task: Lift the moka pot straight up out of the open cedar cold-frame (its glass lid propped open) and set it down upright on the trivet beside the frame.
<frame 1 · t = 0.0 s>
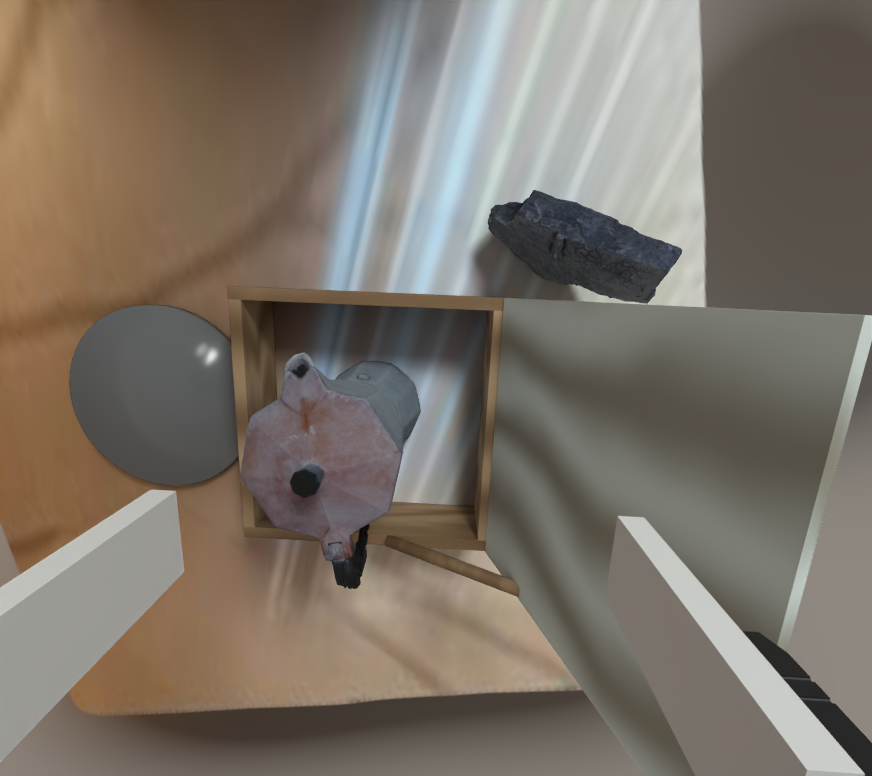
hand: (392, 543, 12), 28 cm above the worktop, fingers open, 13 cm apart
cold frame: (378, 407, 41), on the worktop
moka pot: (378, 407, 41), resting in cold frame
stone: (558, 254, 37), on the worktop
trivet: (167, 397, 41), on the worktop
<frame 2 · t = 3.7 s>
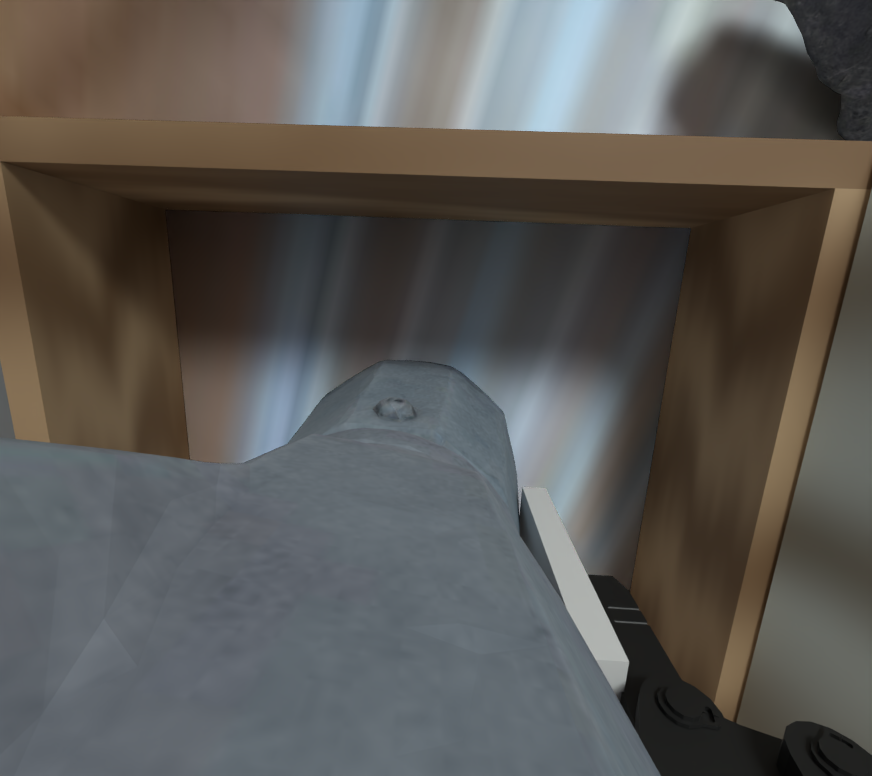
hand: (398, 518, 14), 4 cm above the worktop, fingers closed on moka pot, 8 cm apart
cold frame: (415, 464, 18), on the worktop
moka pot: (417, 463, 18), resting in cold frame, touching gripper
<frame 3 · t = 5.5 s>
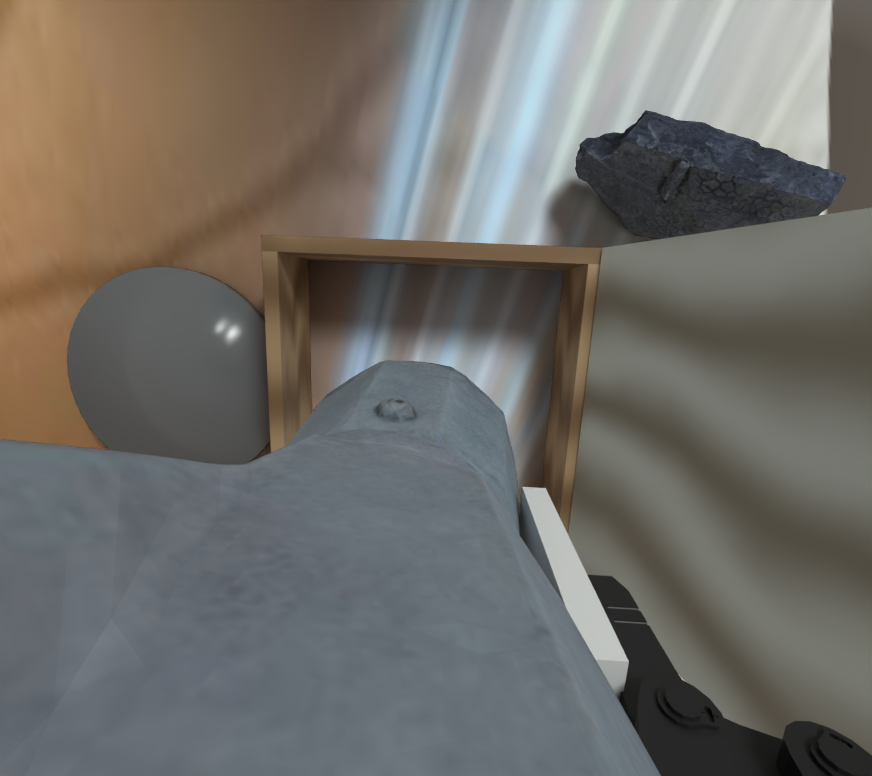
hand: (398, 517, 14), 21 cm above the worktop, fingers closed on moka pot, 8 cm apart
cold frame: (430, 389, 35), on the worktop
moka pot: (417, 463, 18), point 17 cm above the worktop, touching gripper
stone: (650, 204, 31), on the worktop
trivet: (182, 378, 35), on the worktop
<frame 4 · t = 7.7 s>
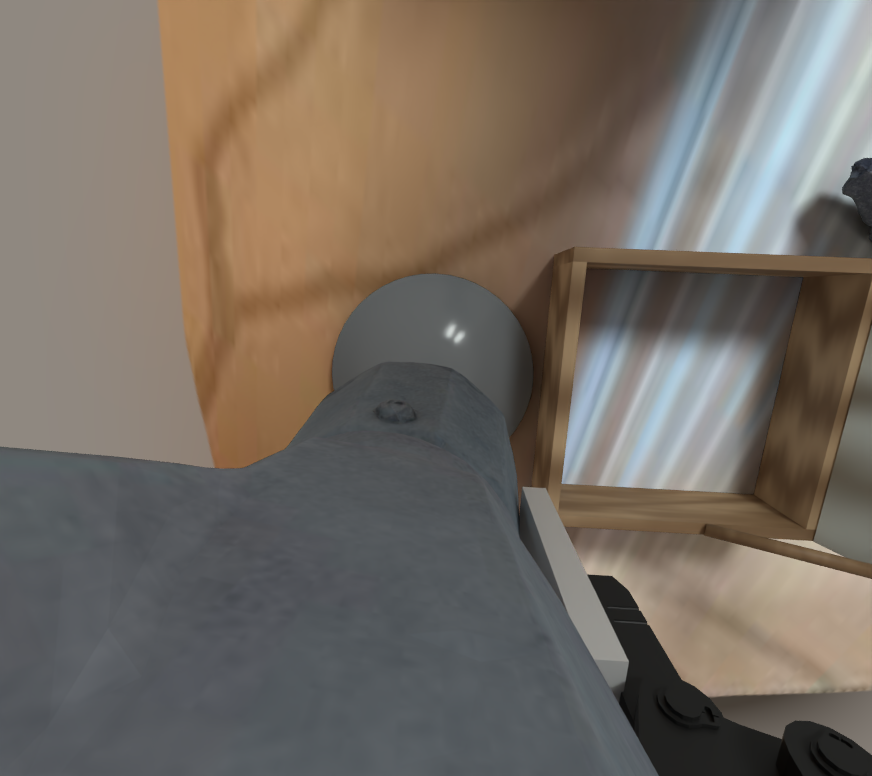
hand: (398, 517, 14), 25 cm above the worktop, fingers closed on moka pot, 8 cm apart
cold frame: (664, 386, 38), on the worktop
moka pot: (417, 464, 18), point 20 cm above the worktop, touching gripper
trivet: (432, 375, 38), on the worktop
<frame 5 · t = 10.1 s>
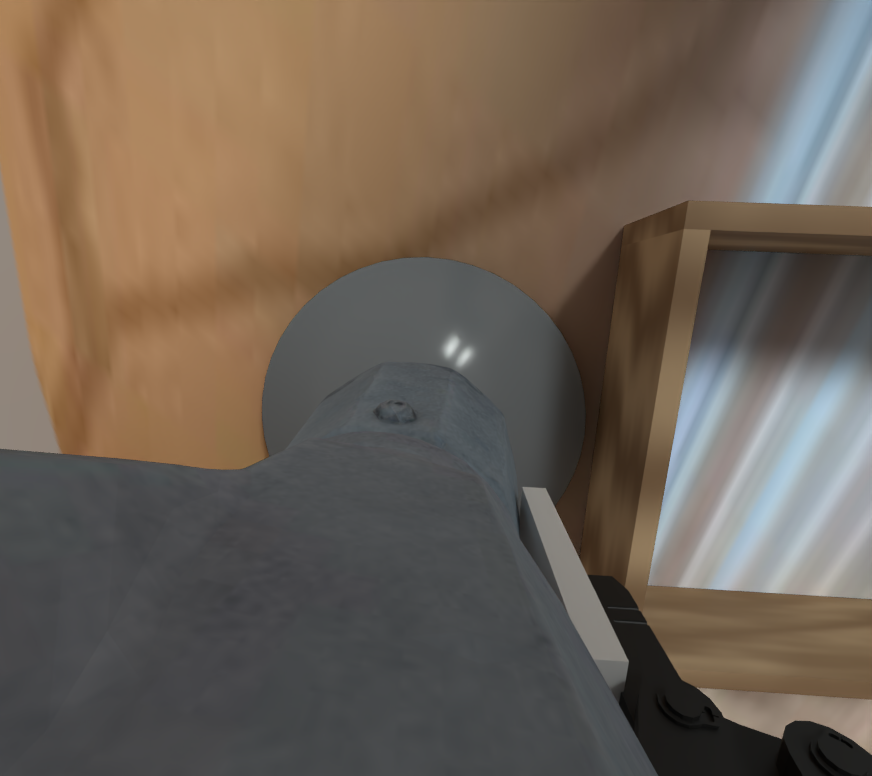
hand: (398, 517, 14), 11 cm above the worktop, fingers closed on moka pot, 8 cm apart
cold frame: (793, 439, 23), on the worktop
moka pot: (417, 464, 18), point 6 cm above the worktop, touching gripper
trivet: (422, 420, 24), on the worktop
when the fingers open (6 cm above the worktop, at t = 12.0 s): moka pot moves 2 cm, resting on trivet.
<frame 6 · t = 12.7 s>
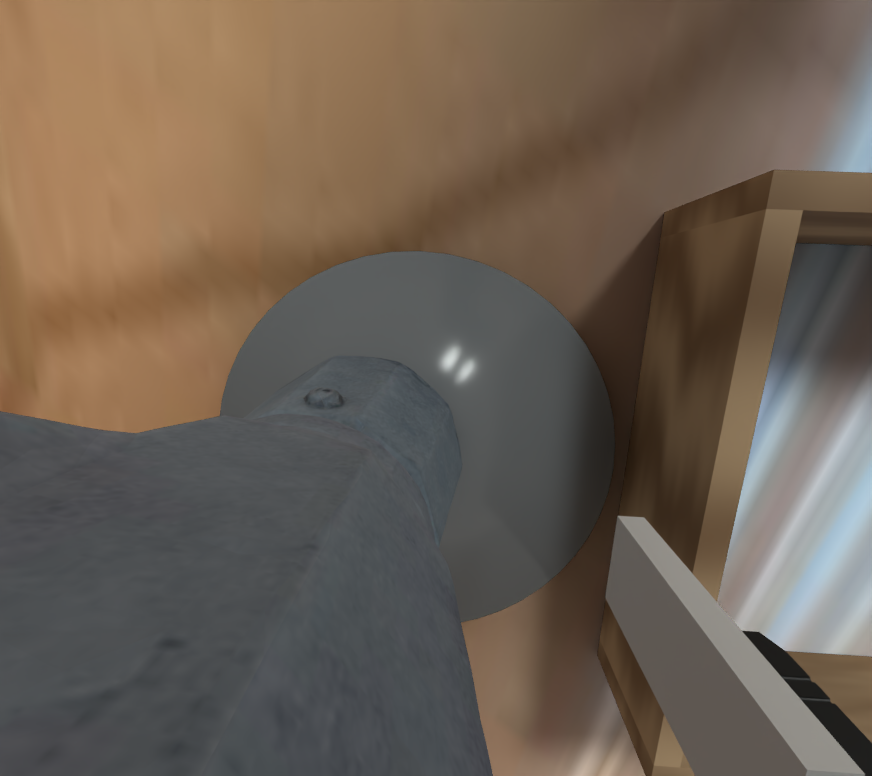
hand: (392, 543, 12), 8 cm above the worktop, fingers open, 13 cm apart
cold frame: (866, 473, 19), on the worktop
moka pot: (370, 454, 19), point 1 cm above the worktop, touching gripper, trivet
trivet: (415, 450, 20), on the worktop
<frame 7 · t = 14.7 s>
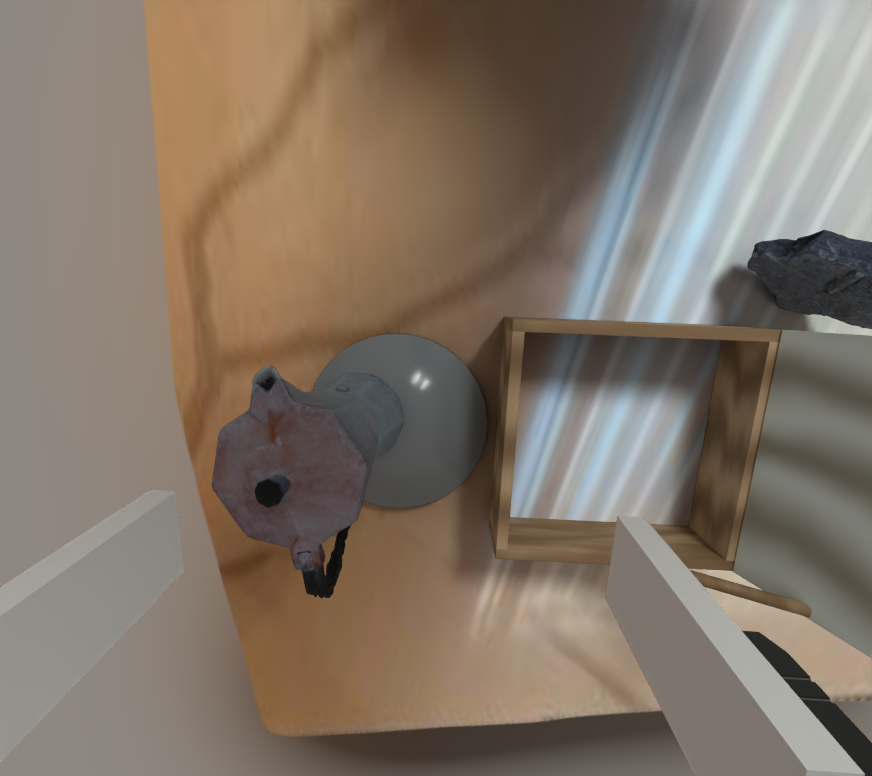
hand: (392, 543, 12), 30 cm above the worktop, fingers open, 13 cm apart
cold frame: (604, 431, 42), on the worktop
moka pot: (363, 417, 41), point 1 cm above the worktop, touching trivet
stone: (795, 284, 39), on the worktop
trivet: (398, 421, 42), on the worktop
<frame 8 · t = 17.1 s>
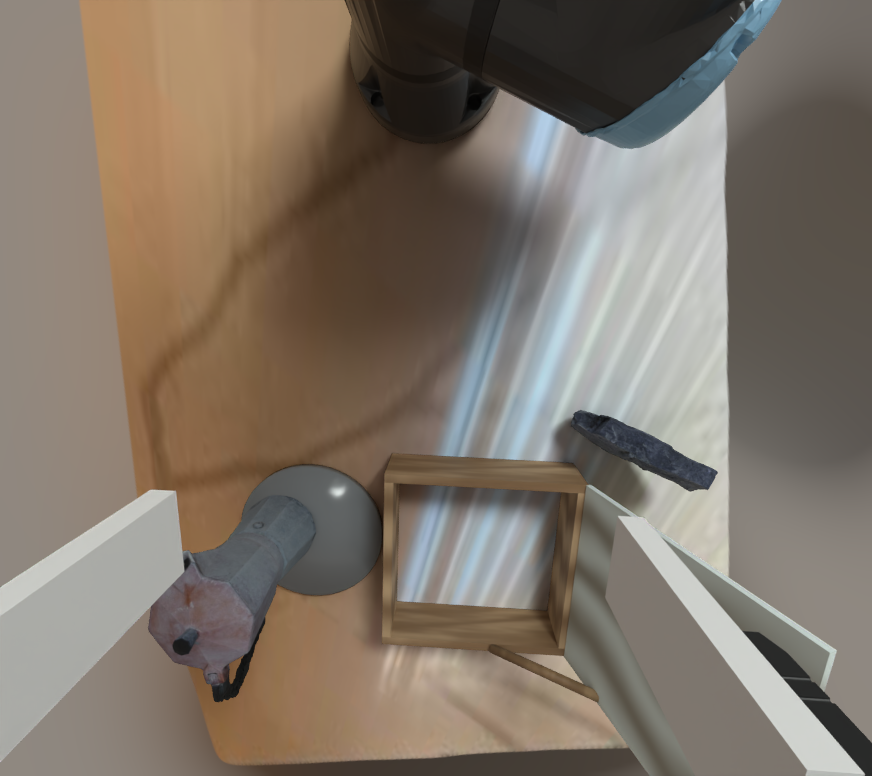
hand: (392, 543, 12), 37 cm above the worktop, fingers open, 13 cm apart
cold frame: (476, 538, 53), on the worktop
moka pot: (285, 527, 53), point 1 cm above the worktop, touching trivet
stone: (618, 433, 50), on the worktop
trivet: (313, 529, 54), on the worktop
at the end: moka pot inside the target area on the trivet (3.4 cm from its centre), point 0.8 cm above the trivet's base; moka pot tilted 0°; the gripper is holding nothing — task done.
